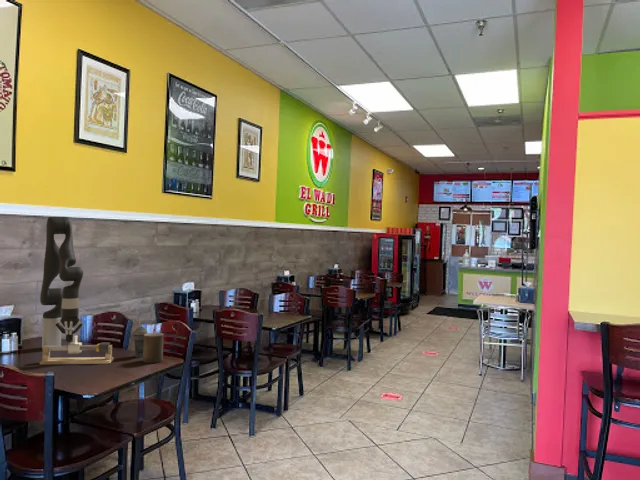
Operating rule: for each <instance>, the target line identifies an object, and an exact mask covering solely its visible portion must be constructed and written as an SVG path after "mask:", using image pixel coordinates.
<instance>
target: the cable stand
mask: <svg viewBox="0 0 640 480" xmlns="http://www.w3.org/2000/svg"><path fill="white" fill-rule="evenodd" d="M79 350H82V351H95V352H96V353H98V354H105V356H97V357H96V356H95V357H94V356H93V357H51V351H53V352H54V351H55V352H57V351H58V352H59V351H60V352H61V351H67V352H68V345H61V346H43V350H42V358H41V359H42V360H41V361H39V365H92V364H97V365H102V364H109V363H110V364H111V363H112V361H114V357H113V344H111V342H108V341H107V342H102V341H101V342H100V343H97V344H95V345H94V344H93V345H92V344H90V345H83V344H82V345H80V349H79Z"/></svg>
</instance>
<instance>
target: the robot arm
mask: <svg viewBox="0 0 640 480" xmlns="http://www.w3.org/2000/svg"><path fill="white" fill-rule="evenodd" d="M45 227H46V231H45V232H46V235H45V237H46V239H45V252H44V260H43V274H42V275H43V277H42V282H41V283H42V284H41V290H40V294H39V295H40V300H39V301H40V304H41V305H42V306H54V307H52V309H49V310H47V311H45V312H43V313H42V330H41V331H42V336H41V339H42V340H41V350H42V351H43V346H62V334H65V341H66V343H71V342H73V337H74V335H75V334H77V332H78V331H79V330H80V329H81V328H82V327H83V326H84V325H85V323H84V322H81V321H80V318H79V310H80V309H79V307H80V302H79V292H80V291H79V290H80V286H81V283H82V280H83V277H84V270H83V268H82V267H80V266H75V265H76V263H77V259H76V254H75V251H74V241H73V240H74V239H73V228H72V227H73V226H72V221H71V219H70V218H69V217H68V216H49V217H47V221H46V226H45ZM55 235H64V239H63V241H62V243H61V245H60V246H59V245H57V242H56V240H55ZM58 275H59V279H60V281H63V282H72V284H70V285H66V286H64V287H63V288H61V287H60V288H59V287H55V288H54V287H53V288H50V287H51V284H52V283H53V281H54V280H55V279H56V278H57V277H58ZM75 327H76V328H75Z"/></svg>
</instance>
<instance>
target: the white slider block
mask: <svg viewBox="0 0 640 480" xmlns="http://www.w3.org/2000/svg"><path fill="white" fill-rule="evenodd" d="M80 345H83V342H79V341H78V335H76V334H74V335H73V340H72V341H71V342H69V343H68V344H67V346H68V350H67V354H69V355H72V354H73V355H75V354H81V353H82V351H83V350H79V349H80Z"/></svg>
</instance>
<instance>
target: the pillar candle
mask: <svg viewBox="0 0 640 480" xmlns="http://www.w3.org/2000/svg"><path fill="white" fill-rule="evenodd" d="M161 361H162V362H163V361H164V333H162V332H149V333H147V334H144V347H143V357H142V362H143V363H145V364H146V363H147V364H157V362H158V363H161Z"/></svg>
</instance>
